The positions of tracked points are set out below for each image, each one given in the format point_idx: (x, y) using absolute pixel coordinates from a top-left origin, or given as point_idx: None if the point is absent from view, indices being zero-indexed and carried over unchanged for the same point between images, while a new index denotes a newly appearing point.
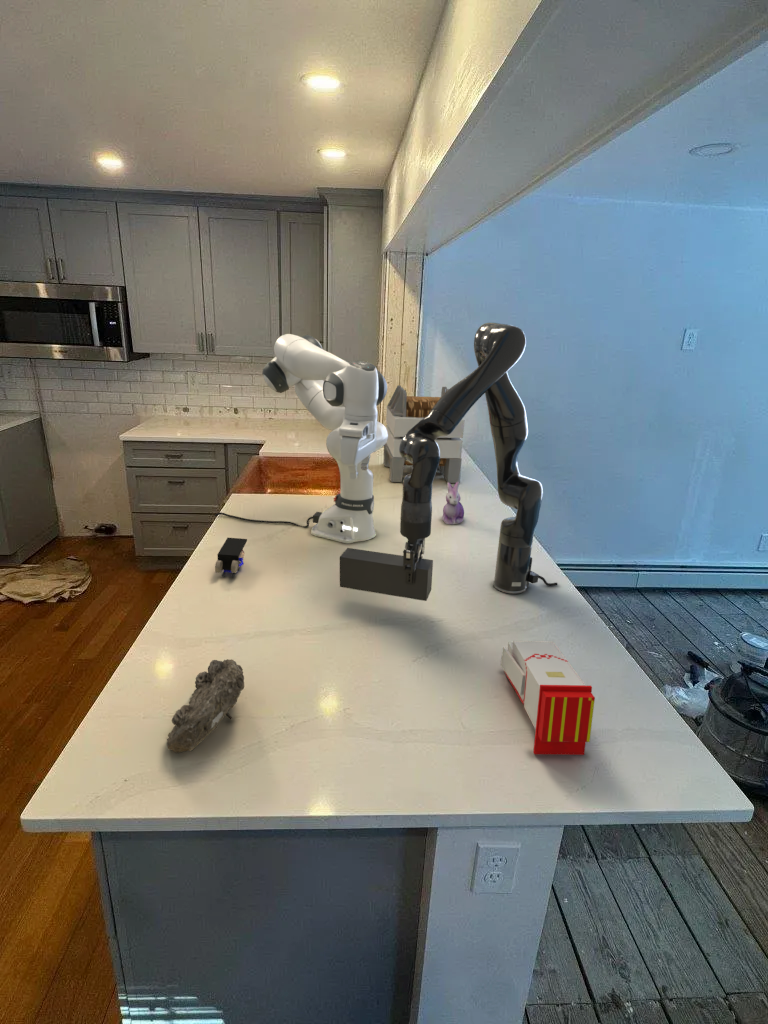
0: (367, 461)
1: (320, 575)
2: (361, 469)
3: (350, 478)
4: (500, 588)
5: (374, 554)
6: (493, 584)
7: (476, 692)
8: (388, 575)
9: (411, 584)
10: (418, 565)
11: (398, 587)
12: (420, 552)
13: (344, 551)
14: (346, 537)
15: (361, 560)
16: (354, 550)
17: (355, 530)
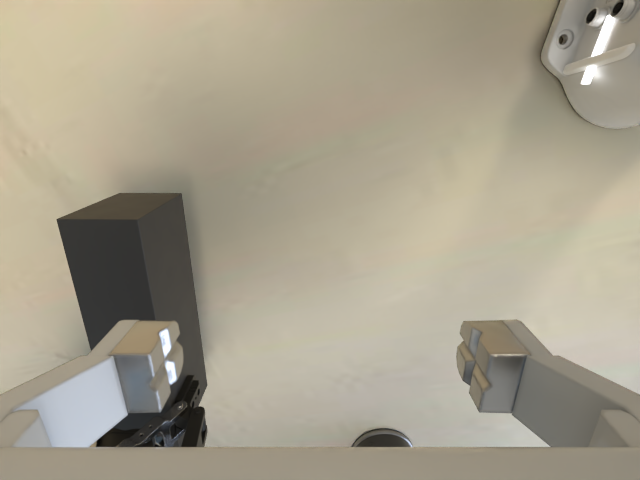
0: (539, 428)
1: (289, 62)
2: (464, 323)
3: (126, 321)
4: (357, 445)
5: (133, 313)
6: (377, 431)
7: None
8: None
9: None
10: (129, 427)
11: None
12: (156, 443)
13: (102, 220)
14: (575, 41)
15: (76, 289)
16: (128, 248)
17: (584, 77)
